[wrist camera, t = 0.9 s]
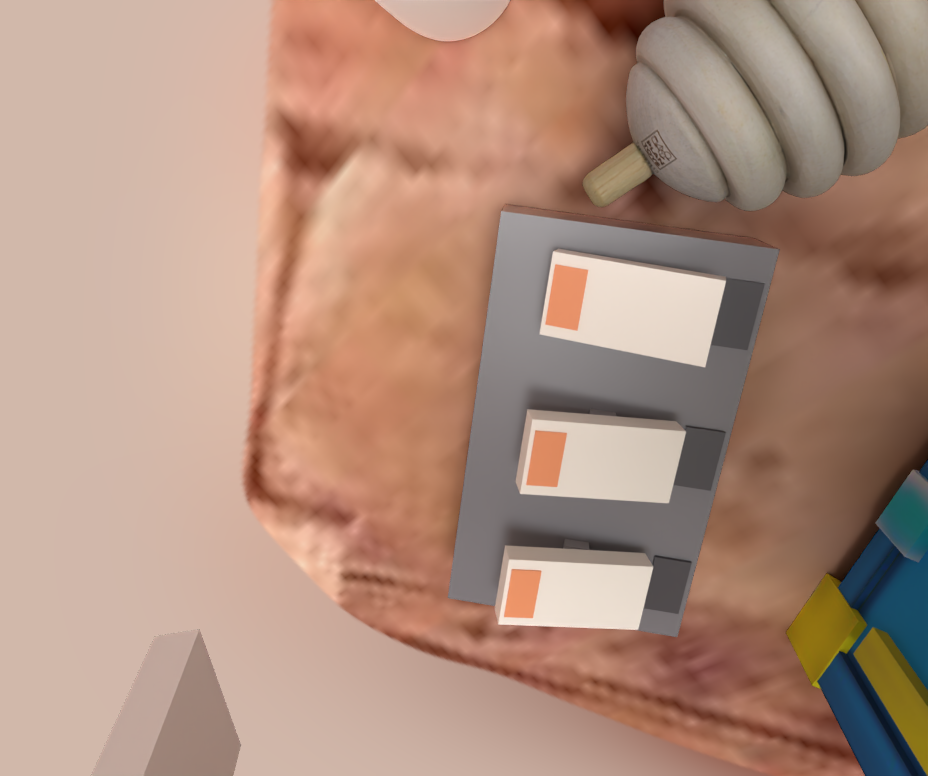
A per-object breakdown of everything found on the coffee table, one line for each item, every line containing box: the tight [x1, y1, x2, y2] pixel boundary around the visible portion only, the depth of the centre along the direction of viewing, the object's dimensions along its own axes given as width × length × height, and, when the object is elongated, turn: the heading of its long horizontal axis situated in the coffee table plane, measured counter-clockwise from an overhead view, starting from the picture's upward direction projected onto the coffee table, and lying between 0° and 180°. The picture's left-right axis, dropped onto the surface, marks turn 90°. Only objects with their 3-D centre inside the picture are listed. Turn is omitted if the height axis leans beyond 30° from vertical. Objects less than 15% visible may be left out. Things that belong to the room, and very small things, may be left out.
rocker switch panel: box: [448, 204, 780, 637], centre depth 36 cm, size 12×20×5 cm, turn 173°
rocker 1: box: [540, 249, 726, 367], centre depth 31 cm, size 7×4×2 cm, turn 83°
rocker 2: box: [516, 409, 686, 503], centre depth 33 cm, size 7×4×2 cm, turn 83°
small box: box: [495, 545, 653, 630], centre depth 35 cm, size 7×4×2 cm, turn 83°
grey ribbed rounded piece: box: [583, 0, 928, 211], centre depth 28 cm, size 11×17×11 cm, turn 131°
